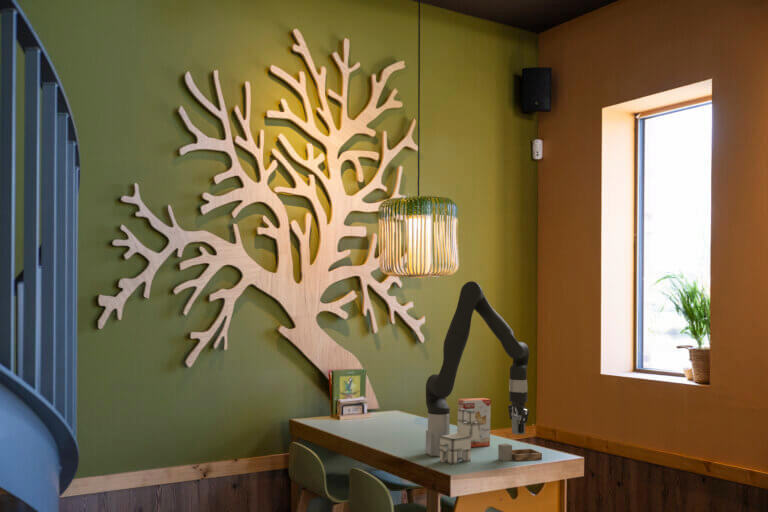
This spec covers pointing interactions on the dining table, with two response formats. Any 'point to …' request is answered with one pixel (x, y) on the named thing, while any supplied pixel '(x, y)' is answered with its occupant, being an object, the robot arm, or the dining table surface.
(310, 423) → the dining table surface
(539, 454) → the bin
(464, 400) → the cracker box
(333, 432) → the dining table surface
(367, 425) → the dining table surface
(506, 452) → the beige grey block
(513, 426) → the grey rectangular block
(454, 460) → the toy llama
